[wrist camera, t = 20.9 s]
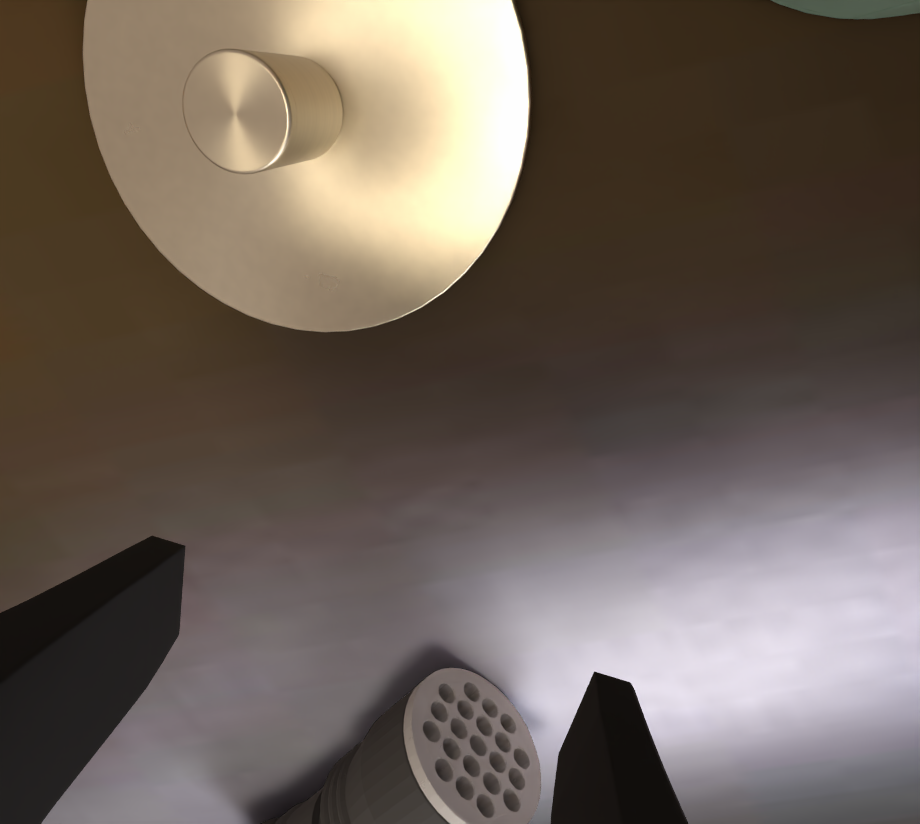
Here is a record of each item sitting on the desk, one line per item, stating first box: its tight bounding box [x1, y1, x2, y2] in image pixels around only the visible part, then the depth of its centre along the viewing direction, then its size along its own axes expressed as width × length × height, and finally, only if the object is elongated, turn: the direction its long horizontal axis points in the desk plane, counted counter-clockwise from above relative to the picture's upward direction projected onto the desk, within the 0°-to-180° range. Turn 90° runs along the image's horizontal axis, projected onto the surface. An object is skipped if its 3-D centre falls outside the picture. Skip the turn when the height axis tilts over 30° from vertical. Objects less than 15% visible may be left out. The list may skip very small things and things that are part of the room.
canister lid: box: [82, 0, 532, 332], centre depth 17 cm, size 12×12×4 cm
